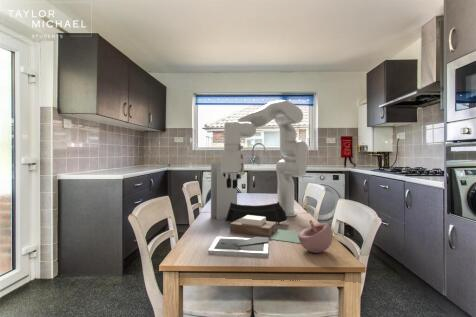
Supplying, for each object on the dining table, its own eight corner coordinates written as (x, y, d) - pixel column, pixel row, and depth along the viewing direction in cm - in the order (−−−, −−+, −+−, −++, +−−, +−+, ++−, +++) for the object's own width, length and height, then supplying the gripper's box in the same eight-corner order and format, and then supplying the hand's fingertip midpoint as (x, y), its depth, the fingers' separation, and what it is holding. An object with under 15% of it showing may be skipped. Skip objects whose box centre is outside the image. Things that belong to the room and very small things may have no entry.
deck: (240, 226, 136) (240, 217, 136) (276, 230, 128) (276, 222, 128) (229, 232, 125) (229, 223, 125) (268, 238, 117) (268, 228, 117)
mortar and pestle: (295, 245, 108) (296, 216, 108) (327, 246, 108) (328, 216, 107) (300, 257, 96) (301, 224, 96) (336, 258, 96) (337, 224, 95)
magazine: (220, 205, 140) (278, 189, 138) (220, 204, 143) (277, 188, 142) (229, 238, 140) (288, 222, 139) (230, 236, 143) (287, 220, 142)
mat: (278, 230, 130) (278, 229, 130) (309, 233, 124) (309, 233, 124) (268, 239, 116) (268, 238, 116) (303, 244, 110) (303, 243, 110)
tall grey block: (230, 214, 162) (231, 161, 161) (237, 215, 158) (237, 162, 157) (210, 217, 152) (211, 162, 151) (217, 219, 148) (217, 162, 147)
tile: (247, 220, 131) (247, 214, 131) (265, 222, 128) (265, 216, 128) (241, 223, 125) (241, 218, 125) (260, 225, 121) (260, 220, 121)
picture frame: (268, 244, 112) (216, 241, 114) (268, 237, 112) (216, 234, 114) (267, 259, 96) (208, 256, 99) (267, 251, 96) (208, 248, 99)
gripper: (251, 148, 130) (251, 188, 131) (220, 148, 137) (220, 186, 137) (245, 148, 123) (244, 190, 124) (213, 148, 130) (212, 187, 130)
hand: (231, 187), depth 131 cm, fingers closed
